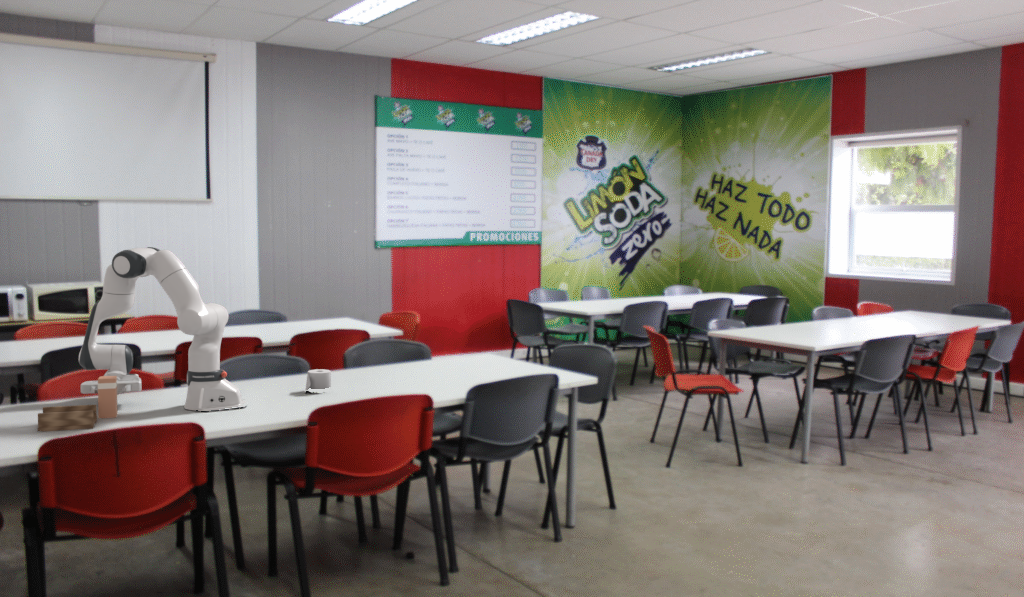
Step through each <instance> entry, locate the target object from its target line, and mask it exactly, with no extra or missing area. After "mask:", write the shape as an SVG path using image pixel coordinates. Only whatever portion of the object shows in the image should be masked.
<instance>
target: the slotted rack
mask: <svg viewBox="0 0 1024 597" xmlns="http://www.w3.org/2000/svg"><path fill="white" fill-rule="evenodd" d="M97 409H98V406H97V404H82V405H78V404H77V405H60V406H44V407H42V412H38V413H37V432H38V431H42V432H58V431H71V430H73V431H75V430H89V429H94V427H95V425H96V423H97V421H98V414H97V413H98V412H97V411H98V410H97Z"/></svg>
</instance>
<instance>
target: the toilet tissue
mask: <svg viewBox="0 0 1024 597" xmlns="http://www.w3.org/2000/svg"><path fill="white" fill-rule="evenodd" d="M306 374H307V375H306V385H305V390H308V389H309V388H311V389H325V388H329V387H331V388H332V371H331V370H329V369H325V368H324V369H323V368H322V369H321V368H320V369H318V368H316V369H309V370H308V371H307V373H306Z"/></svg>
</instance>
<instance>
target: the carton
mask: <svg viewBox="0 0 1024 597" xmlns="http://www.w3.org/2000/svg"><path fill="white" fill-rule="evenodd" d="M97 381H98V393H97V405H98V406H97V409H98V410H97V411H98V412H97V413H98V414H97V418H98V419H99V418H101V419H115V418H116V419H117V417H118V395H117V376H104V375H102V376H99V377H98V378H97Z"/></svg>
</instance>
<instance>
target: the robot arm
mask: <svg viewBox="0 0 1024 597" xmlns="http://www.w3.org/2000/svg"><path fill="white" fill-rule="evenodd" d="M149 276H153V277H154V278H155V279H156V281H157V282H158V284H159V285H160V287H161V288H162V289H163V290H164V292H165V293H166V295H167V296H168V298H169V299H170V301H171V302H172V304H173V307H174V309H175V312H176V315H177V320H176V321H177V322H176V323H177V328H178V329H179V331H181V332H182V333H183V334H185V335H187V336H188V335H189V336H193V338H192V342H191V344H190V346H188V347H189V348H188V353H187V355H188V358H187V359H188V361H187V364H188V370H187V372H186V384H187V392H186V399H185V401H184V406H183V408H184V410H185V409H186V410H188V411H196V410H198V412H201V411H209V412H212V411H211V410H219V409H225V408H232V407H238V406H243V405H241V404H244V403H246V401H247V400H246V401H243V400H242V399H243V398H242V394H241V391H240V388H239V387H238V386H237V385H235V384H234V383H233V382H230V381H229V380H227V379H226V377H227V376H228V373H227V372H226V371H225V370H224V369H221V368H220V367H221V364H220V363H221V360H220V359H221V344H222V340H223V336H224V331H225V328H226V325H227V323H228V322H229V317H230V316H229V311H228V310H227V308H226V307H224V305H222V304H220V303H219V304H218V303H215V302H209V303H205V302H204V301H203V298H202V296H201V294H200V285H199V283H198V282H197V281H196V279H195V278H194V276H193V275H192V274H191V273H190V271H189V269H188V268H187V266H185V264H184V263H183V262H182V261H181V259H180V258H178V256H177V255H175V253H174V252H172V251H171V250H169V249H159V248H157V247H152V246H151V247H150V246H147V247H134V248H130V249H124V250H121V251H119V252H117V253H116V254H114V255H113V257H112V260H111V264H109V265H108V266H107V267H106V270H105V274H104V278H103V286H102V295H101V298H100V300H98V302H96V303H94V305H93V306H92V308H91V311H90V314H89V318H88V322H87V326H86V329H85V330H86V331H85V335H84V338H83V344H82V345H81V348H80V351H79V353H78V363H79V364H78V365H79V366H80V367H81V368H83V369H84V370H86V371H97V370H107V371H106V372H105V373H104V375H103V376H117V396H119V395H122V394H125V393H135V392H142V385H143V384H142V378H141V377H139V374H137V373H131V371H132V370H133V366H134V352H133V350H132V349H131V348H130V347H129V346H128V345H127V344H104V343H103V344H99V343H97V342H96V340H97V337H98V332H99V328H100V325H101V324H102V322H104V321H106V320H108V319H111V318H115V317H117V316H121V315H123V314H125V313H127V312H129V310H131V309H132V308H133V306H134V303H135V299H136V282H137V280H138V279H139V278H143V277H149ZM80 394H82V395H83V394H84V395H87V394H98V380H87V381H84V382H81V384H80ZM219 411H220V410H219Z"/></svg>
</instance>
